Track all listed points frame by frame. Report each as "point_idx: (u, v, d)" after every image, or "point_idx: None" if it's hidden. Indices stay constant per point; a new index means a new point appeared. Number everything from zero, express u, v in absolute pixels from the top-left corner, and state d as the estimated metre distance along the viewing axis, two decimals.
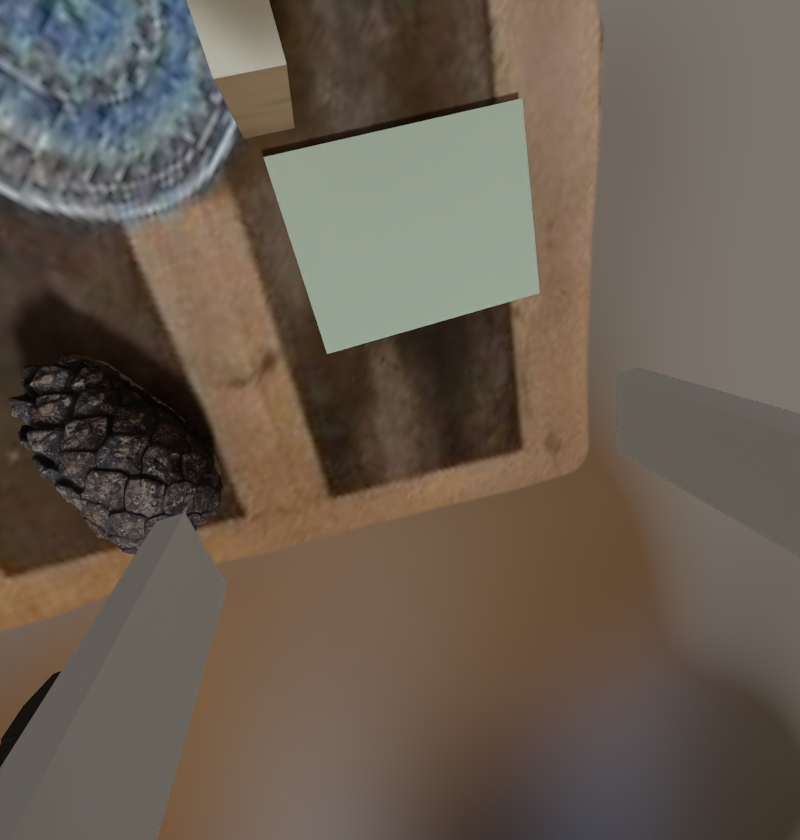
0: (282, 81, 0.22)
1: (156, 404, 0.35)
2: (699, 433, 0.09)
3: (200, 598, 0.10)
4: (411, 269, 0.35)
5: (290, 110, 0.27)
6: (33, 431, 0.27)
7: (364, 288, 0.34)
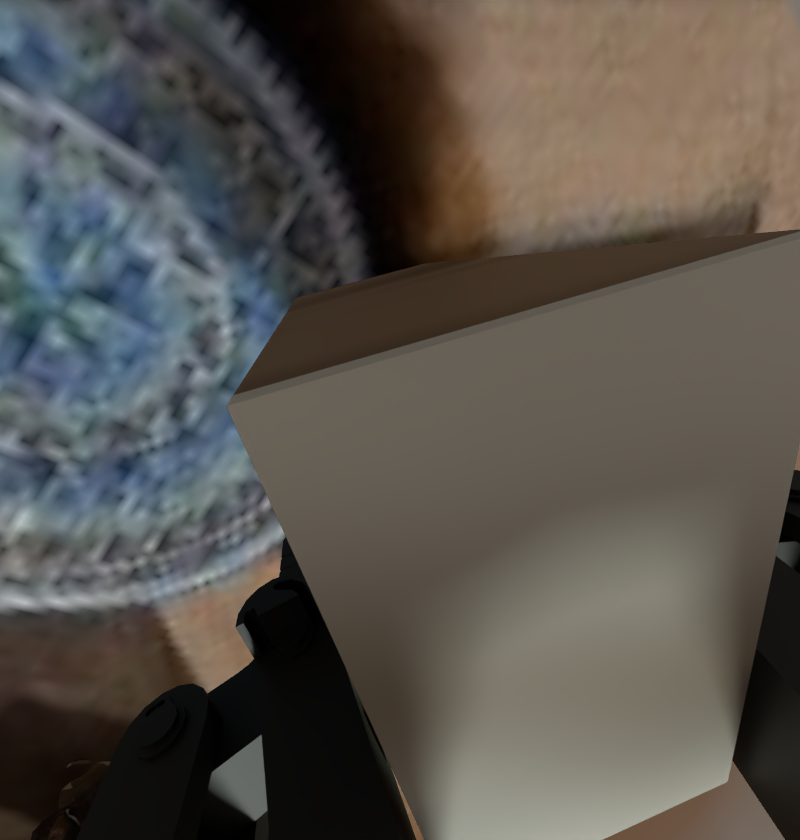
0: None
1: None
2: None
3: None
4: None
5: None
6: None
7: None
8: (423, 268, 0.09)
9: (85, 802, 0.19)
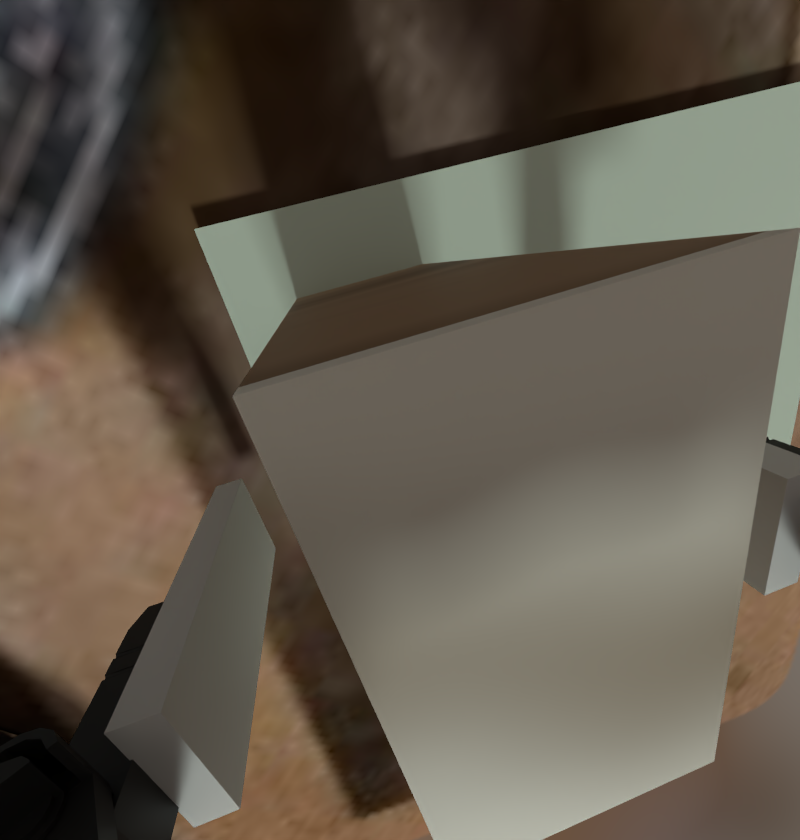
0: None
1: None
2: None
3: (258, 554, 0.11)
4: None
5: None
6: None
7: None
8: (420, 269, 0.10)
9: None
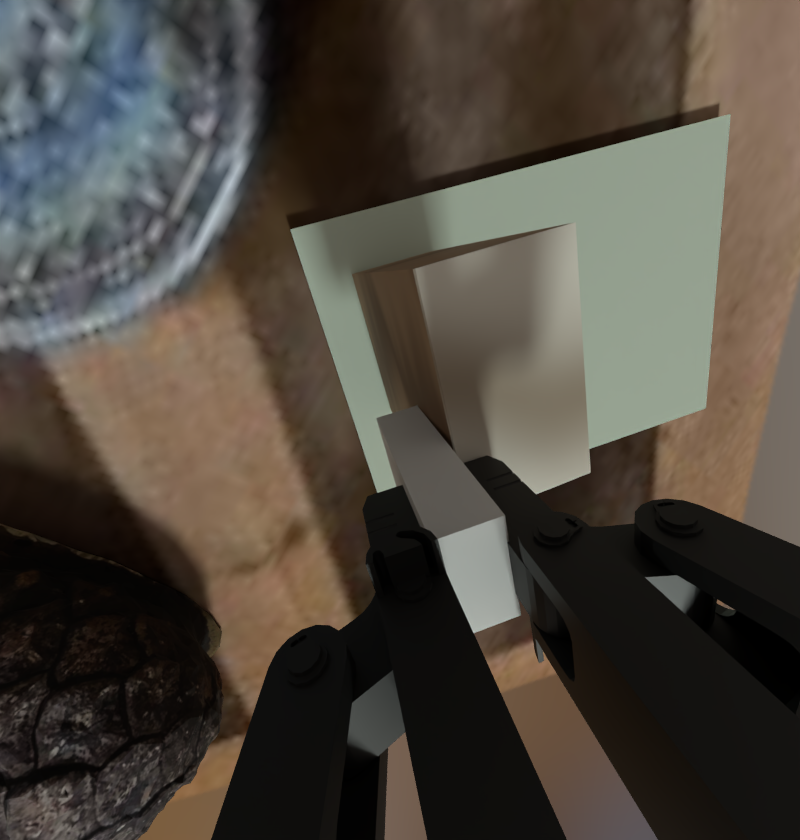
0: None
1: (84, 563, 0.20)
2: None
3: None
4: None
5: None
6: None
7: None
8: (435, 251, 0.16)
9: None
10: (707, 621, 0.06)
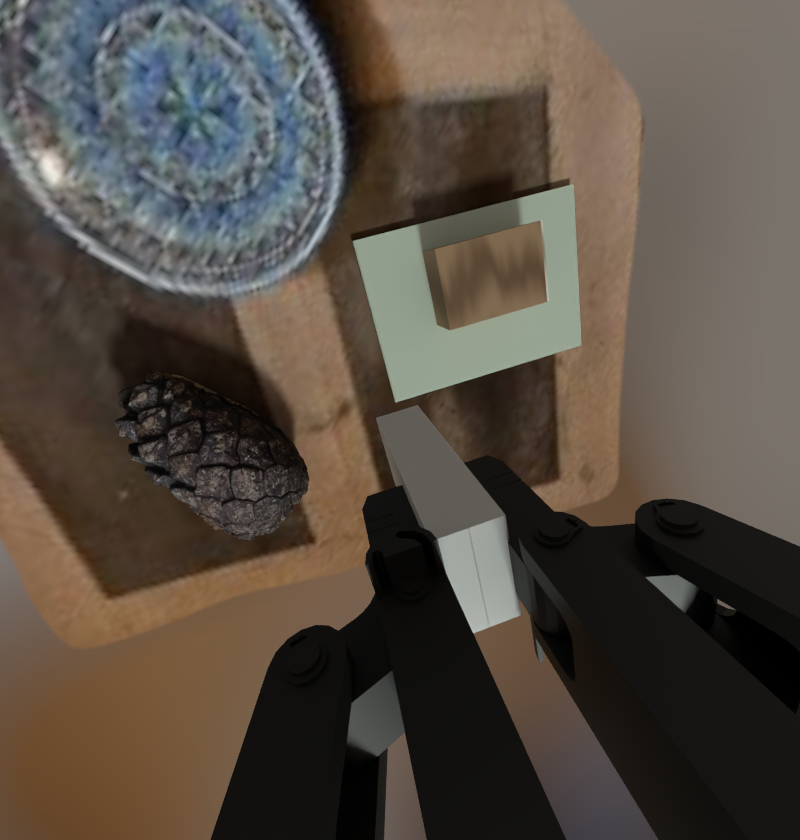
0: None
1: (230, 405, 0.37)
2: None
3: None
4: (471, 329, 0.39)
5: None
6: (143, 444, 0.30)
7: (430, 346, 0.39)
8: None
9: None
10: (708, 621, 0.06)
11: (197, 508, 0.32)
